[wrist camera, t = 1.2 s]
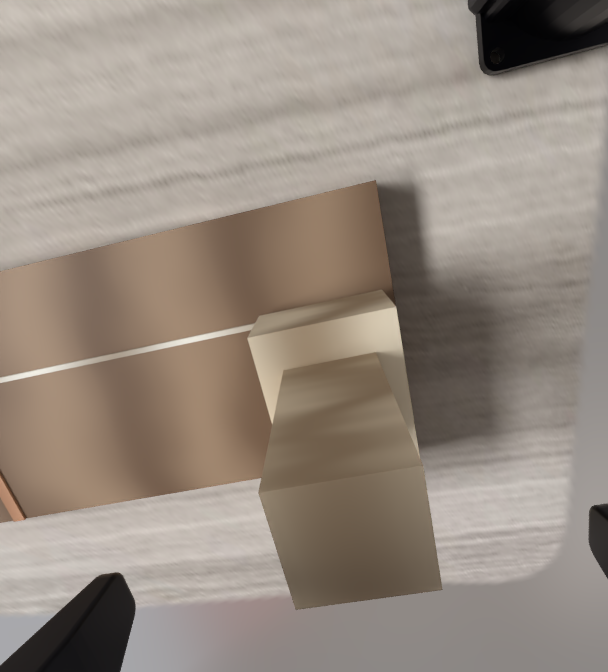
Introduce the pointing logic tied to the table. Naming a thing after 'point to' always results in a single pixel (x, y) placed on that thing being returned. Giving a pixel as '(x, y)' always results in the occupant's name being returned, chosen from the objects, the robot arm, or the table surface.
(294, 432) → the block
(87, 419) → the walnut board
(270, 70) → the table surface
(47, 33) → the table surface
